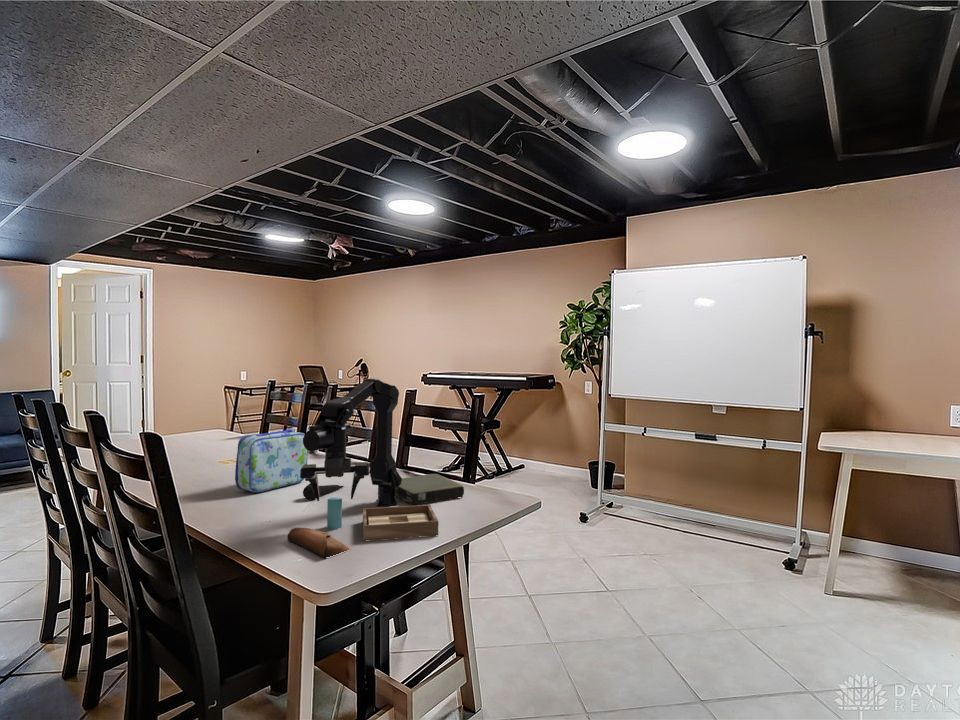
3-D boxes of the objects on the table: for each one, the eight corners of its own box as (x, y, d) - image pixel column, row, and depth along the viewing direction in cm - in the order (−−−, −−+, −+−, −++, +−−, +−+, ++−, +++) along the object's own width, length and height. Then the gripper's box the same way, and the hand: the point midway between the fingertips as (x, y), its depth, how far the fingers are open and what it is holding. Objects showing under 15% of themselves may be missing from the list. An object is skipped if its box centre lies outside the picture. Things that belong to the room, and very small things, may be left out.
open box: (362, 522, 147) (363, 508, 147) (429, 517, 152) (429, 504, 152) (363, 541, 131) (364, 526, 131) (438, 535, 136) (438, 521, 136)
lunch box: (292, 478, 200) (293, 426, 200) (311, 481, 194) (311, 428, 194) (231, 492, 177) (232, 433, 177) (250, 496, 172) (251, 436, 172)
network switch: (379, 494, 178) (379, 480, 178) (431, 484, 194) (432, 471, 194) (415, 510, 161) (416, 494, 161) (470, 497, 177) (470, 483, 177)
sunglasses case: (354, 549, 126) (342, 530, 123) (333, 571, 121) (320, 551, 118) (315, 532, 137) (304, 514, 135) (294, 552, 133) (282, 534, 130)
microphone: (338, 495, 186) (300, 503, 168) (335, 480, 187) (298, 486, 169) (350, 492, 184) (313, 499, 166) (347, 477, 186) (310, 482, 167)
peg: (327, 525, 144) (327, 497, 144) (341, 524, 145) (342, 497, 145) (326, 530, 140) (327, 501, 140) (341, 529, 141) (341, 501, 141)
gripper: (298, 452, 132) (297, 510, 132) (369, 449, 137) (369, 506, 137) (302, 444, 143) (301, 498, 143) (368, 443, 147) (368, 495, 147)
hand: (335, 500), depth 142 cm, fingers open, 9 cm apart
